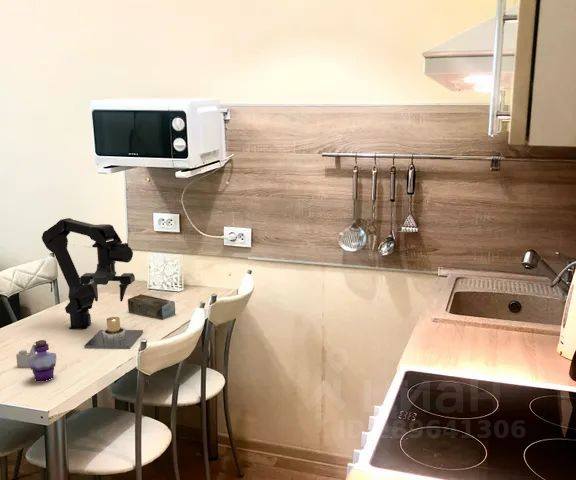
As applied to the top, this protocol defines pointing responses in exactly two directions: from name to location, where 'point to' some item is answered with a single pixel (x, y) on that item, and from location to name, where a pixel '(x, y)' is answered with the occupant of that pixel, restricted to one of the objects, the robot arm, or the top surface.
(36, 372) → the potion bottle
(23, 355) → the grey notched block
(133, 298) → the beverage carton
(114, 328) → the tan cylinder
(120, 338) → the ring block
